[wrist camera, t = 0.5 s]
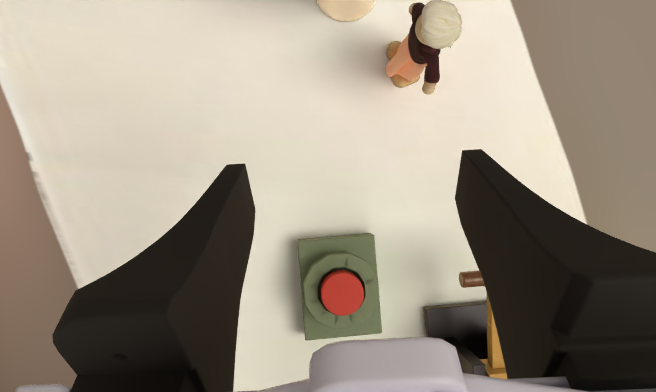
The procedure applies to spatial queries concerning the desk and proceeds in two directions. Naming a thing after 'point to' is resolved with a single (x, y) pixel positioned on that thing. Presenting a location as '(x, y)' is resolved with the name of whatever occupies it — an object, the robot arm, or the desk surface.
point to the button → (342, 292)
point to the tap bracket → (461, 332)
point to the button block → (326, 258)
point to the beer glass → (346, 8)
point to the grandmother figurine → (424, 44)
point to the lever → (495, 357)
